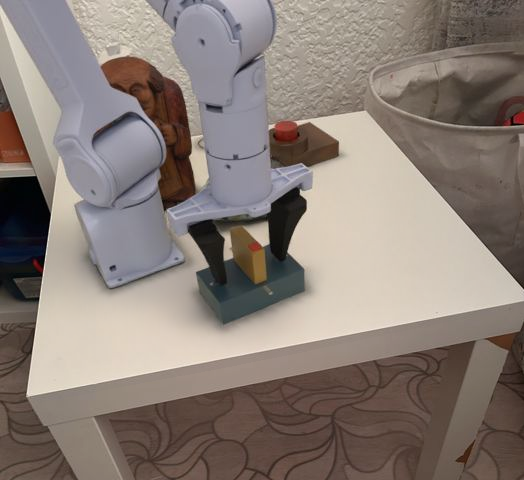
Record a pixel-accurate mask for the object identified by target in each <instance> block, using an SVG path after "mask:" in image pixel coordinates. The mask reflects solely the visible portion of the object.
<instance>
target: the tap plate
mask: <svg viewBox="0 0 524 480" xmlns="http://www.w3.org/2000/svg"><path fill="white" fill-rule="evenodd" d="M262 247H263V248H264V250H265V263H266V276H267V280H266V281H263V282H261V283H258V284H256V285H255V284H254V283H253V282H252V280H251V279H250V278H249V277H248V276H247V275H246V274H245V273H244V271H243V270H242V269H241V268H240V267H239V266H238V265H237V264H236V262H235V261H234V260H233V257H232V258H229V259H227V260H224V265H225V270H226V276H227V284H224V285H222V286H221V285H219V284H218V282H217V281H216V280H215V279H214V277H213V276H212V273H211V270H210V267H209V266H208V267H205V268H203V269H200V270H198V271H195V276H196V281H197V286H198V292H199V295H201V296H202V299H204V301H205V302H206V303H207V305H208V306H209V308H210V309H211V311H212V312H213V313H214V315H215V316H216V317H217V318H218V320H219V321H220V322H221V324H222V325H226V324H228V323H231V322H233V321H236V320H237V319H240V318H243V317H245V316H247V315H250V314H252V313H254V312H258V311H259V310H261V309H264V308H267V307H269V306H272V305H273V304H277V303H278V302H281V301H284V300H286V299H288V298H291V297H293V296H296V295H298V294H300V293H303V292H305V291H306V282H305V281H306V280H305V279H306V278H305V277H306V276H305V273H306V272H305V267H303V266H302V265H301V263H300V262H298V261H297V260H296V259H295V258H294V257H293V255H291V254H290V253H289V251H288V252H287V256H286V259H285V260H284V261H282V262H280V261H279V260H278V259H277V258H276V257H275V256H274V255H273V254H272V253H271V249H270V244H269V243H268V244H265V245H262ZM228 249H229V251H230V252H231V253H232V254H233V252H232V246H230V247H229V248H228Z"/></svg>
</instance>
